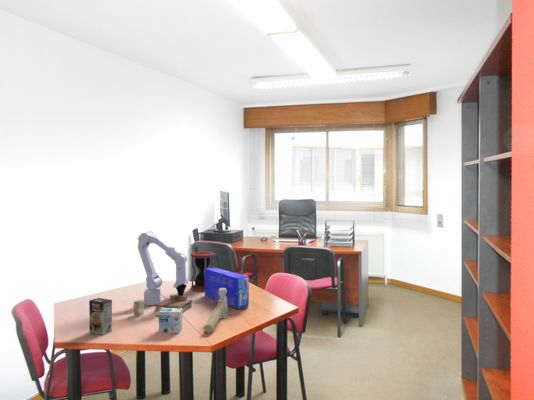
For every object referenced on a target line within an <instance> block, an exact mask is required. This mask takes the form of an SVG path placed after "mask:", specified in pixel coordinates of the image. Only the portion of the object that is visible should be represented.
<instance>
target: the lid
mask: <svg viewBox="0 0 534 400" xmlns="http://www.w3.org/2000/svg"><path fill="white" fill-rule="evenodd" d="M191 302H192V303H193V300H191V299H187V296H186V295H183V296H179V295H178V294H177V295H176V294H170V295H169V297H166V298H165V299H163V300H161V301H160V302H158V303H156V304H155V305H154V307H155V306H159V307H169V308H183V307H184V306H186V305H188V304H190V303H191Z"/></svg>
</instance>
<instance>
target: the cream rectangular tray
mask: <svg viewBox="0 0 534 400" xmlns="http://www.w3.org/2000/svg"><path fill="white" fill-rule="evenodd" d="M192 303H193V301H192V302H191V303H190V304H188V305H186V306H184V307H183V308H182V314H184V312H186V311H188V310H189V309H190V308H192ZM154 307H155V308H154V310H155V313H154V314H155V316H158V317H159V311H160V310H161V309H162V308H169V307H159V306H155V305H154Z"/></svg>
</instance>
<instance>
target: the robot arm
mask: <svg viewBox="0 0 534 400" xmlns="http://www.w3.org/2000/svg"><path fill="white" fill-rule="evenodd" d="M137 240H138V244H137V250H138V253H139V256H140V258H141V261H142V264H143V267H144V271H145V274H146V278H145V281H146V289H145V290H144V291H143V300H144V305H149V306H155V304H156V303H158V302H160V301H162V300H161V299H162V298H161V296H162V295H161V286H162V284H163V279H162V278H161V277H160V275H159V273H158V272H156V269H155V267H154V263H153V261H152V260H153V259H152V258H151V254H150V252H149V247H150V245H151V244H155V245H156V246H158V247H159V248H161V249H162V250H163V251H164V252H165V254H166V255H167V256H168V257H169V258H170V259H171V260H173V261H174V264H175V282H174V284H173V288H175V289H176V292H177V295H179V296H185V295H184V294H185V290H186V288H187V284H188V282H189V278H187V277H186V276H187V275H186V272H187V271H186V270H187V269H186V268H187V267H186V266H187V265H186V263H187V261H188V258H187V257H188V256H186V254H185V253H182V252H181V251H178V250H177V249H176V247H175V246H169V245H168V244H167V243H166V242H164V241H163V240H162V238H160V237H159V236H158V234H156V233H154V232H153V231H150V230H149V231H146V232H141V233H140V235H139V236H138V238H137Z"/></svg>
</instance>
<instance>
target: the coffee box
mask: <svg viewBox="0 0 534 400" xmlns="http://www.w3.org/2000/svg"><path fill="white" fill-rule="evenodd" d="M88 304H89V333H90V334H96V335H100V336H104V335H106V334H110V333H111V332H112V331H113V300H112V299H108V298H102V297H97V298H92V299H90V300H89V302H88Z"/></svg>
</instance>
